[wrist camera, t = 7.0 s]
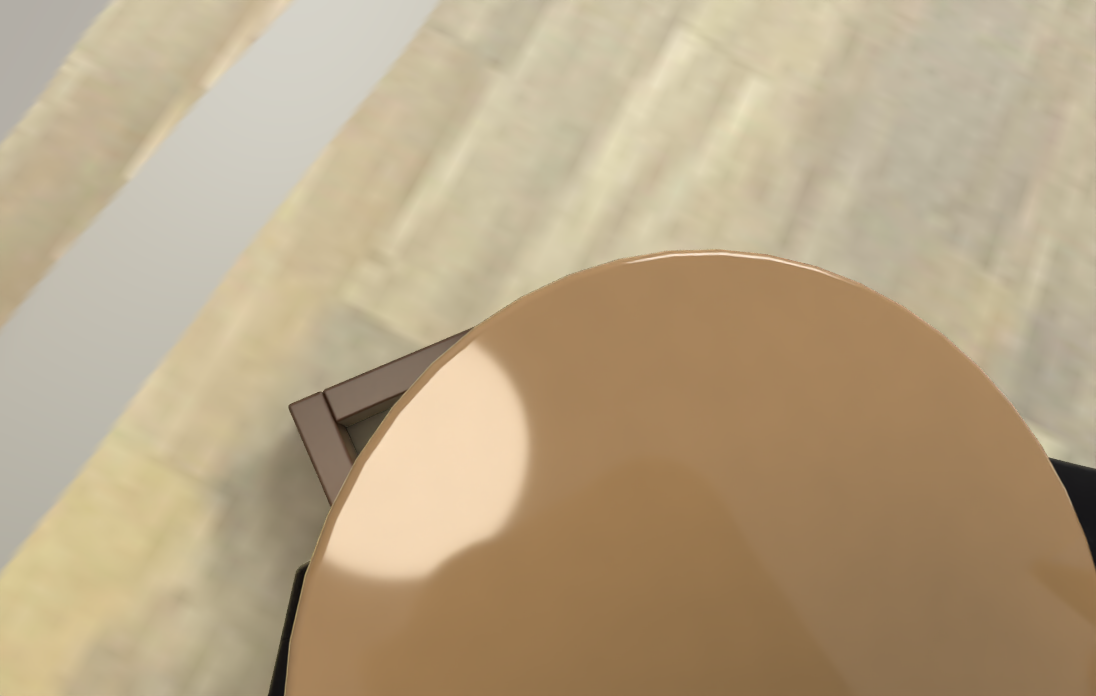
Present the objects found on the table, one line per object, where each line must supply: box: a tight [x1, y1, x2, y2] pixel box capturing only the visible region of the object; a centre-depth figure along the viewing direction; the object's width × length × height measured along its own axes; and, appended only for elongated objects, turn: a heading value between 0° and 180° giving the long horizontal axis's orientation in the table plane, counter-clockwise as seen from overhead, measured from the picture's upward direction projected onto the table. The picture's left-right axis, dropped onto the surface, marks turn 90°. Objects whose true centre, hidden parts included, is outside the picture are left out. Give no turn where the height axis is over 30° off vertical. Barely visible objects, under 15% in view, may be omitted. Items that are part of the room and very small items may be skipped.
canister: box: [284, 249, 1096, 696], centre depth 10 cm, size 6×6×12 cm
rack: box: [288, 327, 474, 506], centre depth 21 cm, size 18×10×3 cm, turn 25°
